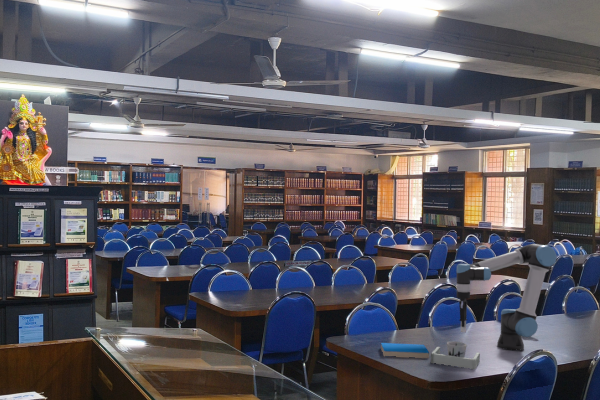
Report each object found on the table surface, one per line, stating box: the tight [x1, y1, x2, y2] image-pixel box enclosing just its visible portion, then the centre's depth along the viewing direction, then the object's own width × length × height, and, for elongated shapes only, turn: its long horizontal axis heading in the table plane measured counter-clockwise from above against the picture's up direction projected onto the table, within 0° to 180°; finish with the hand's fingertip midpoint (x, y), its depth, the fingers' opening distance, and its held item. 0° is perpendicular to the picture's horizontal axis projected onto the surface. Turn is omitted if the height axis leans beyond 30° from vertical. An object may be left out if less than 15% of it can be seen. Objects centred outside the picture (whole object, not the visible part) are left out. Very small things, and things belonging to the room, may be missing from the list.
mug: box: [446, 340, 468, 358], centre depth 302 cm, size 10×15×10 cm
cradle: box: [430, 346, 481, 370], centre depth 300 cm, size 23×17×5 cm
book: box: [380, 342, 430, 359], centre depth 315 cm, size 17×4×25 cm
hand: (463, 332), depth 318 cm, fingers closed
